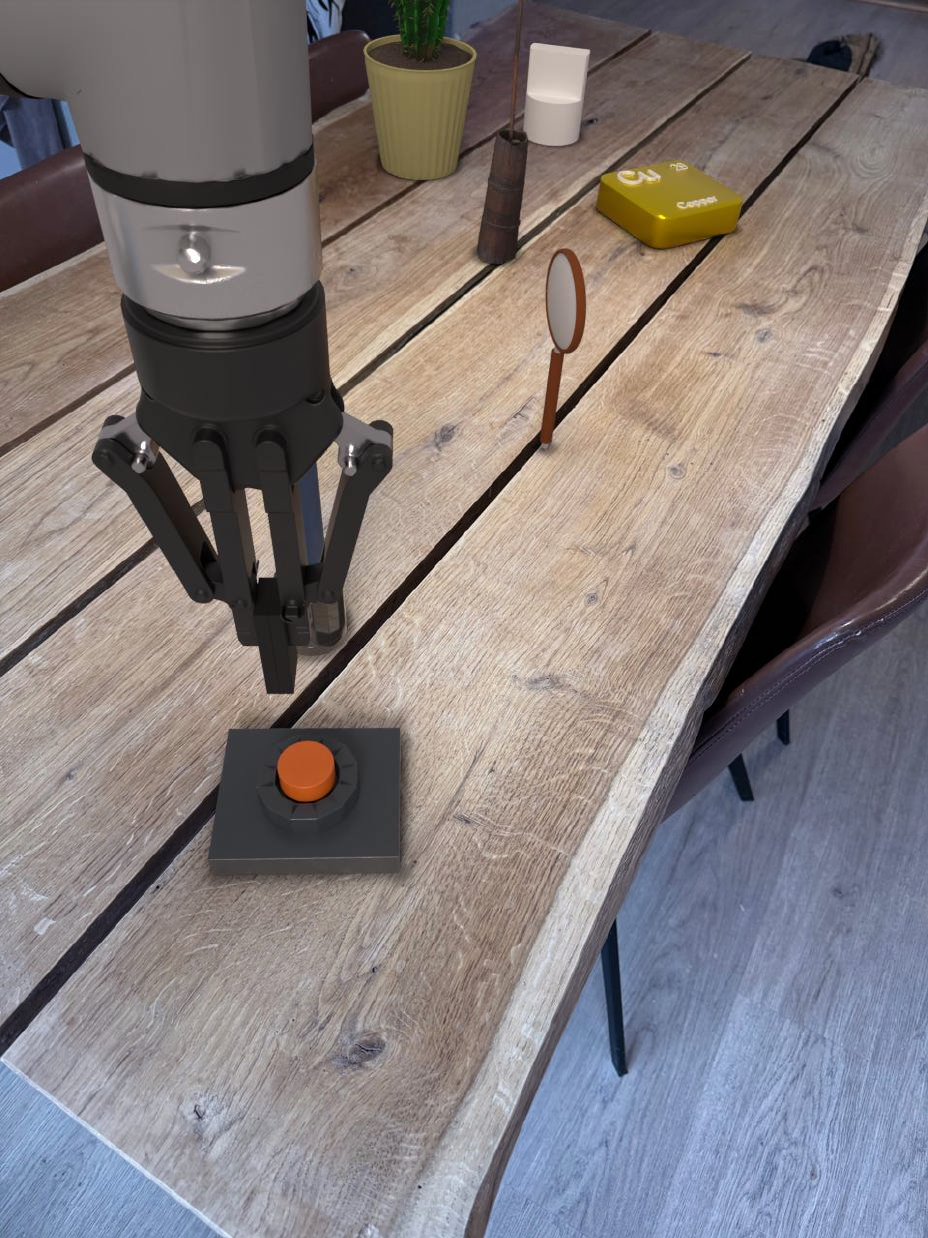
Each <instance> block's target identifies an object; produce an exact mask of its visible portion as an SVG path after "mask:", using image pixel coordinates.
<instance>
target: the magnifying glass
mask: <svg viewBox="0 0 928 1238" xmlns="http://www.w3.org/2000/svg"><path fill="white" fill-rule="evenodd" d="M547 267H548V268H547V272H546V278H545V279H546V280H545V295H544V296H545V297H544V298H545V315H546V321H547V326H548V327H547V328H548V331H549V335H550V338H551V341H552V343H553V345H554V347H553V348H552V349H551V351H550V352H551V353H550V357H549V358H550V359H549V366H548V375H547V383H546V390H545V396H544V397H545V398H544V405H543V406H544V407H543V411H542V412H543V413H542V419H541V420H542V421H541V427H540V435H539V442H540V443H541V445H540V447H541V448H542V449H543V450H547V449H549V447H550V444H552V442H553V436H554V430H555V429H554V428H555V421H556V415H557V408H558V402H559V401H558V400H559V394H560V387H561V381H562V380H561V379H562V373H563V366H564V360H565V355H568V354H572V353H574V352H576V351H577V350H578V348H579V346H580V344H581V342H582V339H583V337H584V332H585V326H586V320H587V319H586V318H587V317H586V316H587V292H586V283H585V277H584V273H583V269H582V266H581V262H580V261H579V257H578V256H577V254H576V253H575V251H574V250H572V249H571V248H566V247H565V248H563V247H562V248H559V249H557V250H556V251H555V252H553V254H552V256H551V258H550V261H549V264H548V266H547Z"/></svg>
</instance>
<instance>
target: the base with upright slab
mask: <svg viewBox="0 0 928 1238" xmlns="http://www.w3.org/2000/svg"><path fill="white" fill-rule="evenodd" d="M590 54H591V49H587V48H579V47H572V46H571V47H570V46H563V45H554V44H547V43H540V42H539V43H538V42H533V43H532V44H531V45H530V47H529V55H528V57H529V58H528V66H527V67H528V68H527V81H526V92H525V103H524V112H523V113H524V114H523V115H524V116H523V127H522V132H523V131H525V132H526V133H527V137H528V141H530V142H532V143H535V144H538V145H543V146H548V147H549V146H551V147H562V146H563V147H564V146H568V145H572V144H574V143H576V142H578V140H579V139H580V132H581V123H582V117H583V116H582V115H583V107H584V100H585V94H586V93H585V92H586V84H587V77H588V70H589V62H590V56H591V55H590Z"/></svg>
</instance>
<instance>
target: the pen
mask: <svg viewBox="0 0 928 1238" xmlns="http://www.w3.org/2000/svg"><path fill="white" fill-rule="evenodd" d="M318 471H319V470H318V461H317V462H316V463H315V464H314V466H313V467H312V468H311V469H310V470H309V471H308V473H307V474H306V475H305V476H304V477H303V478H302V479H301V480H300V481H299V486H300V495H301V504H302V513H303V523H304V532H305V541H306V550H307V559H308V565H311V564H315V563H319V561H320V556H321V552H322V548H323V544H324V540H325V533H324V524H323V514H322V513H323V512H322V504H321V503H322V502H321V493H320V492H321V491H320V484H319V483H320V482H319V472H318Z"/></svg>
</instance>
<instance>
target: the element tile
mask: <svg viewBox="0 0 928 1238" xmlns="http://www.w3.org/2000/svg"><path fill="white" fill-rule="evenodd" d="M743 204H744V198H743V196H742V195H740V194H739V192H736V191H734V190H733V189H731V188H730V187H728V186H726V185H725V184H723V183H721V182H719V181H718V180H716V179H714V178H713V177H711V176H709V175H708V174H706V173H705V172H703V171H701V170H700V169H698V168H696V167H694V166H693V165H692V164H690V163H688V162H686V161H685V160H684V161H683V160H681V159H674V160H668V161H663V162H658V163H653V164H648V165H642V166H637V167H633V168H627V169H623V170H618V171H612V172H608V173H604V174H603V175H601V176H600V180H599V186H598V192H597V200H596V208H597V210H598V212H600V213H601V214H602V215H604V216H605V217H607V218H608V219H610V220H611V221H612V222H613V223H615V224H617V225H618V226H619V227H621V228H622V229H624V230H625V231H626V232H628V233H629V234H631V235H632V236H633V237H635V238H636V239H637V240H639V241H640V242H641V243H643V244H644V245H646V246H648V247H650V248H653V249H658V250H664V249H670V248H674V247H679V246H682V245H686V244H691V243H694V242H699V241H703V240H707V239H711V238H715V237H719V236H720V237H721V236H723V235H728V234H731V233H733V232H734V231H735V230H736V229H737V226H738V222H739V218H740V215H741V211H742V207H743Z"/></svg>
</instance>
